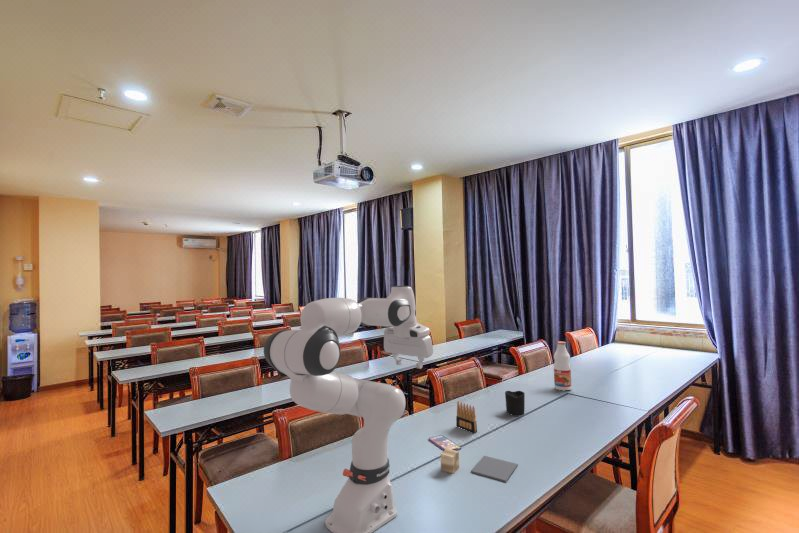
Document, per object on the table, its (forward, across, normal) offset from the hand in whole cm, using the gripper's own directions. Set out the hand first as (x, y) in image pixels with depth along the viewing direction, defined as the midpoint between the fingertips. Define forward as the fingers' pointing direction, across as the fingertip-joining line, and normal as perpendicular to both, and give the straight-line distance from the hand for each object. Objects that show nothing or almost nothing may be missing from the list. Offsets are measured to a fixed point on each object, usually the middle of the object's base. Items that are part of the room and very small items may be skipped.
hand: (409, 366), depth 140 cm
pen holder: (+46, +9, +72) cm, 86 cm away
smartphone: (+42, -2, +22) cm, 47 cm away
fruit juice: (+52, +18, +123) cm, 135 cm away
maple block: (+39, +10, +6) cm, 41 cm away
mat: (+40, +24, +15) cm, 49 cm away
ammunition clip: (+43, -2, +40) cm, 59 cm away
